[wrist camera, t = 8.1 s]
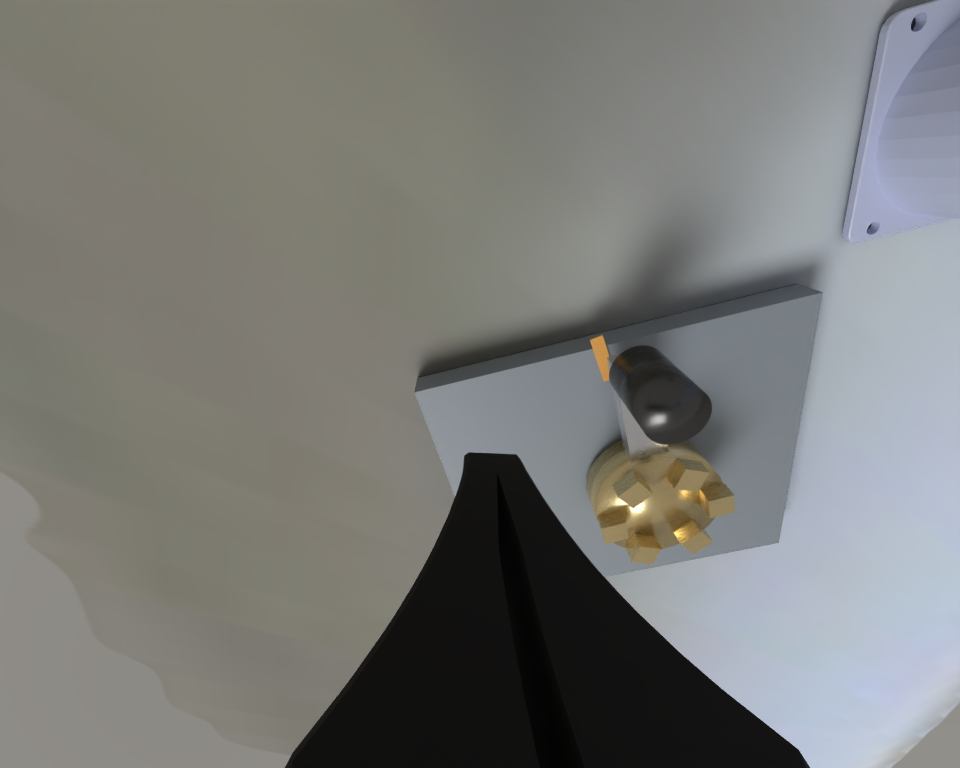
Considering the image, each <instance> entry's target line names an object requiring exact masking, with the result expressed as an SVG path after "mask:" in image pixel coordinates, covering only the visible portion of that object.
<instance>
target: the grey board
mask: <svg viewBox="0 0 960 768" xmlns="http://www.w3.org/2000/svg"><path fill="white" fill-rule="evenodd" d="M822 293H823V292H820V291H817V290H814V289H811V288H808V287H805V286H802V285H799V284H795V285H791V286H787V287H783V288H779V289H775V290H771V291H767V292H763V293H759V294H755V295H750V296H746V297H742V298H738V299H734V300H730V301H726V302H722V303H718V304H714V305H710V306H706V307H702V308H698V309H694V310H690V311H686V312H682V313H678V314H674V315H670V316H666V317H662V318H658V319H654V320H650V321H646V322H642V323H638V324H634V325H629V326H625V327H621V328H617V329H613V330H609V331H605V332H601V333H597V334H593V335H589V336H585V337H581V338H577V339H573V340H569V341H565V342H561V343H557V344H553V345H549V346H545V347H541V348H537V349H533V350H529V351H525V352H521V353H517V354H513V355H508V356H504V357H500V358H496V359H492V360H488V361H484V362H480V363H476V364H472V365H468V366H464V367H460V368H456V369H452V370H448V371H444V372H440V373H436V374H432V375H428V376H424V377H420V378H417V383H416V388H415V395H416V398H417V400H418V403H419V405H420V408H421V410H422V413H423V416H424V418H425V421H426V423H427V426H428V428H429V431H430V434H431V436H432V439H433V441H434V444H435V446H436V449H437V452H438V454H439V457H440V459H441V462H442V464H443V467H444V470H445V472H446V475H447V477H448V480H449V482H450V485H451V488H452V490H453V493H454V495H455V496H456V493H457V490H458V487H459V484H460V480H461V477H462V472H463V464H464V455H466V454H467V453H469V452H474V453H498V454H517V455H518V457H519V458H520V459H521V461H522V463H523V465H524V466H525V468H526V470H527V472H528V473H529V475H530V477H531V478H532V480H533V482H534V483H535V485H536V487H537V488H538V490H539V491H540V493H541V495H542V496H543V498H544V499H545V501H546V502H547V504H548V505H549V507H550V508H551V509H552V511H553V512H554V514H555V515H556V517H557V518H558V520H559V521H560V522H561V524H562V525H563V526H564V528H565V529H566V531H567V532H568V533H569V535H570V536H571V537H572V538H573V540H574V541H575V542H576V544H577V545H578V546H579V547H580V549H581V550H582V551H583V553H584V554H585V555H586V556H587V557H588V559H589V560H590V561H591V562H592V563H593V565H594V566H595V567H596V568H597V569H598V571H599V572H600V573H601V574H602V575H603V576H604V577H607V576H612V575H617V574H622V573H627V572H632V571H637V570H642V569H647V568H653V567H658V566H663V565H668V564H673V563H678V562H683V561H688V560H693V559H698V558H703V557H709V556H714V555H719V554H724V553H729V552H734V551H739V550H744V549H749V548H754V547H759V546H765V545H770V544H775V543H779V538H780V533H781V527H782V521H783V516H784V510H785V504H786V499H787V493H788V487H789V481H790V476H791V470H792V464H793V459H794V453H795V447H796V441H797V436H798V430H799V424H800V419H801V413H802V407H803V402H804V396H805V390H806V384H807V379H808V373H809V367H810V362H811V356H812V350H813V344H814V339H815V333H816V327H817V322H818V316H819V310H820V305H821V299H822ZM639 345H647V346H652V347H654V348H656V349H658V350H659V351H660V352H661V353H662V354H663V355H664V356H666V357H667V358H668V359H669V360H670V361H671V362H672V363H673V364H674V365H675V366H676V367H678V368H679V369H680V370H681V371H682V372H683V373H684V374H685V375H686V376H687V377H689V378H690V379H691V380H692V381H693V382H694V383H695V384H696V385H697V386H698V387H699V388H701V389H702V390H703V391H704V392H705V393H706V394H707V395H708V396H709V398H710V400H711V403H712V413H711V416H710V419H709V421H708V423H707V424H706V426H705V427H704V428H703V429H702V430H701V431H700V432H699V433H698V434H697V435H695V436H694V437H692V438H690V439H689V440H688V441H690V442H691V443H692V444H693V445H694V446H695V447H696V449H697V450H698V451H699V452H700V453H701V455H702V456H703V457H704V458H705V459H706V460H707V462H708V463H709V464H710V465H711V466H712V468H713V469H714V470H715V471H716V472H717V473H718V475H719V476H720V478H721V479H722V482H723V484H724V483H725V484H726V486H727V487H728V488H729V489H730V490H731V492H732V493H733V494H734V499H735V512H733V513H729V514H725V515H721V516H717V517H715V519H714V520H713V521H712V522H711V523H710V524H709V525H708V526H707V527H706V528H705V530H706V532H707V533H708V535H709V536H710V538H711V539H712V541H713V543H711V544H709V545H708V546H706V547H705V548H703V549H701V550H700V551H698V552H697V553H695V554H693V553H691V552H690V551H689V550H687V549H686V548H685V547H683V546H682V545H681V544H677V545H675V546H671V547H668V548H664V549H662V550H661V551H660V553H659V555H658V556H657V558H656V559H655V561H654V563H653V564H646V563H637V562H631V559H630V557H629V555H628V552H627V550H626V548H624V547H621V546H619V545H616V544H615V543H609V544H605V541H604V539H603V536H602V534H601V531H600V527H599V524H598V521H597V519H596V516H595V513H594V511H593V508H592V506H591V503H590V501H589V498H588V495H587V491H586V480H587V476H588V473H589V470H590V468H591V466H592V465H593V463H594V462H595V460H596V459H597V458H598V457H599V456H600V455H601V454H602V453H603V452H604V451H605V450H606V449H607V448H609V447H610V446H612V445H613V444H615V443H617V442H618V441H620V440H622V437H621V431H620V426H619V421H618V415H617V410H616V405H615V399H614V394H613V389H612V386H611V383H610V380H609V367H608V362H607V357H611V356H614V355H617V354H621V353H622V352H624V351H625V350H627V349H629V348H631V347H634V346H639Z"/></svg>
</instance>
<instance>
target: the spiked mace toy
mask: <svg viewBox="0 0 960 768" xmlns="http://www.w3.org/2000/svg"><path fill="white" fill-rule="evenodd" d="M607 362H608V367H609V380H610V383H611V386H612V389H613V394H614V399H615V405H616V410H617V415H618V421H619V426H620V431H621V437H622V440H620V441H618V442H617V443H615V444H613V445H612V446H610V447H609V448H607V449H606V450H605V451H604V452H603V453H602V454H601V455H600V456H599V457H598V458H597V459H596V460H595V462H594V463H593V465H592V466H591V468H590V470H589V473H588V476H587V480H586V491H587V495H588V498H589V501H590V503H591V506H592V508H593V511H594V513H595V516H596V519H597V521H598V524H599V527H600V531H601V534H602V536H603V539H604V541H605V544H609V543H615V544H616V545H619V546H621V547H624V548H626V550H627V552H628V555H629V557H630V559H631V562H637V563H646V564H653V563H654V561H655V559H656V558H657V556H658V555H659V553H660V551H661V550H662V549H664V548H668V547H671V546H675V545H677V544H681V545H682V546H683V547H685V548H686V549H687V550H689V551H690V552H691V553H693V554H695V553H697V552H698V551H700V550H701V549H703V548H705V547H706V546H708V545H709V544H711V543H713V541H712V539H711V538H710V536H709V535H708V533H707V532H706V530H705V528H706V527H707V526H708V525H709V524H710V523H711V522H712V521H713V520H714V519H715V517H717V516H721V515H725V514H729V513H733V512H735V499H734V494H733V493H732V492H731V490H730V489H729V488H728V487H727V486H726V484H725V483H724V484H723V482H722V479H721V478H720V476H719V475H718V473H717V472H716V471H715V470H714V469H713V468H712V466H711V465H710V464H709V463H708V462H707V460H706V459H705V458H704V457H703V456H702V455H701V453H700V452H699V451H698V450H697V449H696V447H695V446H694V445H693V444H692V443H691V442H690V441H688V440H689V439H690V438H692V437H694V436H695V435H697V434H698V433H699V432H700V431H701V430H702V429H703V428H704V427H705V426H706V424H707V423H708V421H709V419H710V416H711V413H712V403H711V400H710V398H709V396H708V395H707V394H706V393H705V392H704V391H703V390H702V389H701V388H699V387H698V386H697V385H696V384H695V383H694V382H693V381H692V380H691V379H690V378H689V377H687V376H686V375H685V374H684V373H683V372H682V371H681V370H680V369H679V368H678V367H676V366H675V365H674V364H673V363H672V362H671V361H670V360H669V359H668V358H667V357H666V356H664V355H663V354H662V353H661V352H660V351H659V350H658V349H656V348H654V347H652V346H647V345H639V346H634V347H631V348H629V349H627V350H625V351H624V352H622V353H621V354H617V355H614V356H611V357H607Z"/></svg>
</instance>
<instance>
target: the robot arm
mask: <svg viewBox="0 0 960 768" xmlns="http://www.w3.org/2000/svg"><path fill="white" fill-rule="evenodd" d="M914 17H915V19H916V24H915V26H914V28H913V30H911V23H912V20H913V19H914ZM954 218H960V0H933V1H930V2H926V3H923V4H920V5H916V6H913V7H910V8H906V9H903V10H901V11H898V12H896V13H894V14H892V15H891V16H890V17H889V18H888V19H887V20H886V21H885V23H884V24H883V26H882V28H881V31H880V35H879V40H878V46H877V51H876V56H875V62H874V67H873V72H872V78H871V83H870V89H869V94H868V99H867V105H866V110H865V115H864V121H863V126H862V131H861V137H860V142H859V147H858V153H857V158H856V164H855V169H854V174H853V180H852V185H851V190H850V196H849V201H848V206H847V212H846V217H845V223H844V228H843V239H844V241H847V242H850V243H859V242H863V241H867V240H871V239H875V238H879V237H883V236H887V235H891V234H895V233H899V232H903V231H906V230H910V229H914V228H918V227H922V226H926V225H930V224H934V223H938V222H942V221H946V220H950V219H954ZM870 224H871V228H870V229H869V230H868V231H867V228H868V226H869V225H870ZM285 768H810V767H809V765H808V764H807V762H806V761H805V759H804V758H803V756H802V754H801V753H800V751H799V750H798V749H797V748H796V747H794V746H793V745H792V744H791V743H789V742H788V741H787V740H785V739H784V738H783V737H782V736H780V735H779V734H778V733H777V732H775V731H774V730H773V729H772V728H770V727H769V726H768V725H766V724H765V723H764V722H763V721H761V720H760V719H759V718H758V717H756V716H755V715H754V714H753V713H751V712H750V711H749V710H747V709H746V708H745V707H744V706H742V705H741V704H740V703H739V702H737V701H736V700H735V699H734V698H732V697H731V696H730V695H728V694H727V693H726V692H725V691H724V690H722V689H721V688H720V687H719V686H718V685H716V684H715V683H714V682H713V681H712V680H711V679H709V678H708V677H707V676H706V675H705V674H704V673H703V672H701V671H700V670H699V669H698V668H697V667H696V666H694V665H693V664H692V663H691V662H690V661H689V660H687V659H686V658H685V657H684V656H683V655H682V654H681V653H680V652H678V651H677V650H676V649H675V648H674V647H673V646H672V645H671V644H670V643H669V642H668V641H667V640H666V639H665V638H664V637H663V636H662V635H661V634H660V633H659V632H657V631H656V630H655V629H654V628H653V627H652V626H651V625H650V624H649V623H648V622H647V621H646V620H645V619H644V618H643V617H642V616H641V615H640V614H639V613H637V611H636V610H635V609H634V608H633V607H632V606H631V605H630V604H629V603H628V602H627V601H626V600H625V599H624V598H623V597H622V596H621V595H620V594H619V593H618V592H617V591H616V590H615V588H614V587H613V586H612V585H611V584H610V583H609V582H608V581H607V579H606V578H605V577H604V576H603V575H602V574H601V573H600V572H599V571H598V569H597V568H596V567H595V566H594V565H593V563H592V562H591V561H590V560H589V559H588V557H587V556H586V555H585V554H584V553H583V551H582V550H581V549H580V547H579V546H578V545H577V544H576V542H575V541H574V540H573V538H572V537H571V536H570V535H569V533H568V532H567V531H566V529H565V528H564V526H563V525H562V524H561V522H560V521H559V520H558V518H557V517H556V515H555V514H554V512H553V511H552V509H551V508H550V507H549V505H548V504H547V502H546V501H545V499H544V498H543V496H542V495H541V493H540V491H539V490H538V488H537V487H536V485H535V483H534V482H533V480H532V478H531V477H530V475H529V473H528V472H527V470H526V468H525V466H524V465H523V463H522V461H521V459H520V458H519V457H518V455H517V454H498V453H474V452H469V453H467V454H466V455H464V464H463V472H462V477H461V480H460V484H459V487H458V490H457V493H456V496H455V499H454V501H453V504H452V507H451V510H450V512H449V515H448V517H447V519H446V522H445V524H444V526H443V528H442V530H441V533H440V535H439V537H438V539H437V541H436V544H435V546H434V548H433V550H432V552H431V554H430V555H429V557H428V559H427V561H426V563H425V565H424V567H423V569H422V570H421V572H420V574H419V576H418V578H417V579H416V581H415V583H414V585H413V586H412V588H411V590H410V591H409V593H408V594H407V596H406V598H405V599H404V601H403V603H402V604H401V606H400V608H399V609H398V611H397V612H396V614H395V616H394V617H393V619H392V620H391V622H390V623H389V625H388V626H387V628H386V629H385V631H384V632H383V634H382V635H381V637H380V638H379V639H378V641H377V642H376V644H375V645H374V647H373V648H372V649H371V651H370V652H369V654H368V655H367V656H366V658H365V659H364V661H363V662H362V664H361V665H360V666H359V668H358V669H357V671H356V672H355V673H354V675H353V676H352V678H351V679H350V680H349V682H348V683H347V684H346V686H345V687H344V688H343V690H342V691H341V692H340V694H339V695H338V696H337V697H336V699H335V700H334V701H333V702H332V704H331V705H330V706H329V707H328V709H327V710H326V711H325V713H324V714H323V715H322V716H321V718H320V719H319V720H318V721H317V723H316V724H315V725H314V727H313V728H312V729H311V730H310V732H309V733H308V734H307V735H306V737H305V738H304V739H303V740H302V742H301V743H300V744H299V746H298V747H297V748H296V749H295V751H294V752H293V754H292V755H291V757H290V759H289V761H288V763H287V765H286V767H285Z"/></svg>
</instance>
